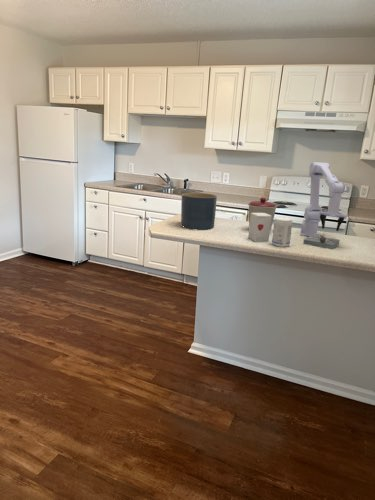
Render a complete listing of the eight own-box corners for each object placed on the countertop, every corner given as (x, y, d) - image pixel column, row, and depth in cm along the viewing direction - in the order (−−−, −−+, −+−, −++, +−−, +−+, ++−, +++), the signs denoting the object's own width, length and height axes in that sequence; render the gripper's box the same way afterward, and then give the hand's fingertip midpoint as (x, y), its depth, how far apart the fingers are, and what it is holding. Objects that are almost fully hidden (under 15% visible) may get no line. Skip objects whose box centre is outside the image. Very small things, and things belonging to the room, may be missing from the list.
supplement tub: (284, 242, 209) (287, 216, 205) (292, 247, 200) (296, 220, 196) (268, 242, 206) (271, 216, 202) (276, 247, 197) (279, 220, 193)
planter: (175, 223, 243) (176, 192, 238) (204, 222, 253) (206, 192, 247) (189, 231, 224) (190, 198, 219) (220, 229, 233) (223, 197, 228)
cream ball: (317, 237, 214) (318, 231, 214) (319, 236, 217) (320, 230, 216) (323, 237, 213) (324, 232, 212) (324, 237, 215) (325, 231, 214)
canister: (272, 228, 243) (276, 196, 237) (276, 234, 226) (280, 200, 220) (244, 226, 245) (247, 194, 239) (246, 232, 227) (249, 198, 222)
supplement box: (254, 241, 207) (257, 215, 203) (247, 237, 215) (250, 212, 211) (269, 241, 209) (272, 215, 205) (262, 237, 217) (264, 212, 213)
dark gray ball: (318, 242, 202) (319, 236, 201) (320, 241, 205) (321, 235, 204) (324, 243, 200) (325, 237, 199) (326, 242, 203) (327, 236, 202)
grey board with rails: (303, 243, 208) (303, 238, 207) (310, 238, 220) (311, 233, 219) (332, 249, 199) (333, 243, 198) (339, 243, 211) (339, 238, 210)
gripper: (318, 204, 202) (314, 228, 206) (346, 207, 194) (342, 233, 198) (322, 202, 208) (318, 226, 211) (349, 206, 200) (345, 230, 204)
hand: (330, 229), depth 205 cm, fingers open, 7 cm apart
